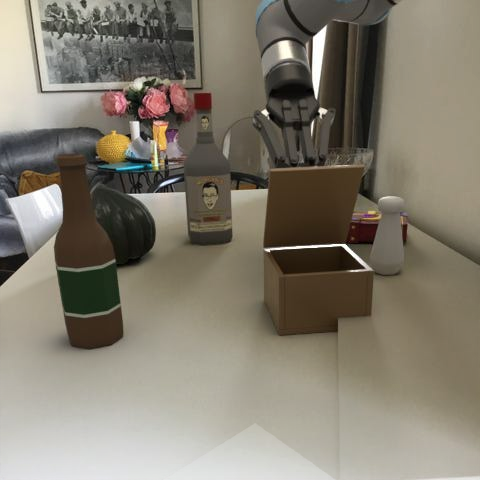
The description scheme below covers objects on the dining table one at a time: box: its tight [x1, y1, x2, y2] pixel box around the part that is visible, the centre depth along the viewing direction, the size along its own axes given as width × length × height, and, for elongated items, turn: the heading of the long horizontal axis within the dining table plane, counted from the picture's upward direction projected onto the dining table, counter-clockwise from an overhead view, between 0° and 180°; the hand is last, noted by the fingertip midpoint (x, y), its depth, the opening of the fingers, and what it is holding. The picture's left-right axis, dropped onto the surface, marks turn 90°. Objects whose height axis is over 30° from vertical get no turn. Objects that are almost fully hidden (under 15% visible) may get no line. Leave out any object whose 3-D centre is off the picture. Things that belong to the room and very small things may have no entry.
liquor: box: [183, 92, 234, 246], centre depth 119 cm, size 9×9×30 cm
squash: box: [90, 186, 157, 265], centre depth 110 cm, size 14×15×15 cm
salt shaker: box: [369, 195, 405, 276], centre depth 97 cm, size 6×6×13 cm
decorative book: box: [346, 210, 409, 244], centre depth 121 cm, size 11×16×5 cm
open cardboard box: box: [262, 243, 375, 336], centre depth 81 cm, size 14×13×8 cm
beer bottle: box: [53, 153, 125, 350], centre depth 72 cm, size 8×8×24 cm
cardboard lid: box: [262, 163, 365, 249], centre depth 80 cm, size 14×13×1 cm
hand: (308, 205), depth 81 cm, fingers closed
